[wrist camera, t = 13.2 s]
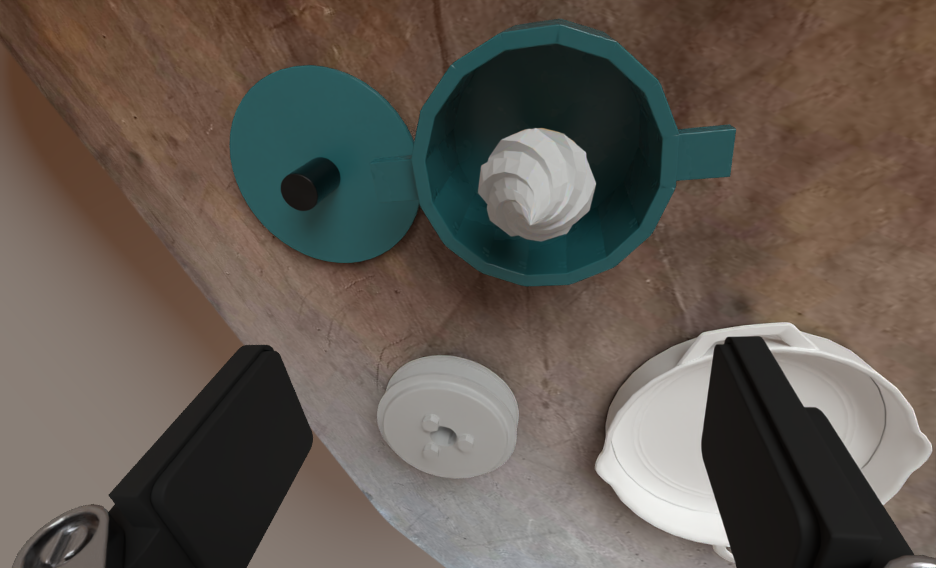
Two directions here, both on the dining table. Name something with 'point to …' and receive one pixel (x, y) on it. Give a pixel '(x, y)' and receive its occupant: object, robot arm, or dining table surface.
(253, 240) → the dining table surface
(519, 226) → the ice cream cone
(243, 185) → the pot lid
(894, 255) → the dining table surface
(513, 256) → the pot
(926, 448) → the pan
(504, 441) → the lid
